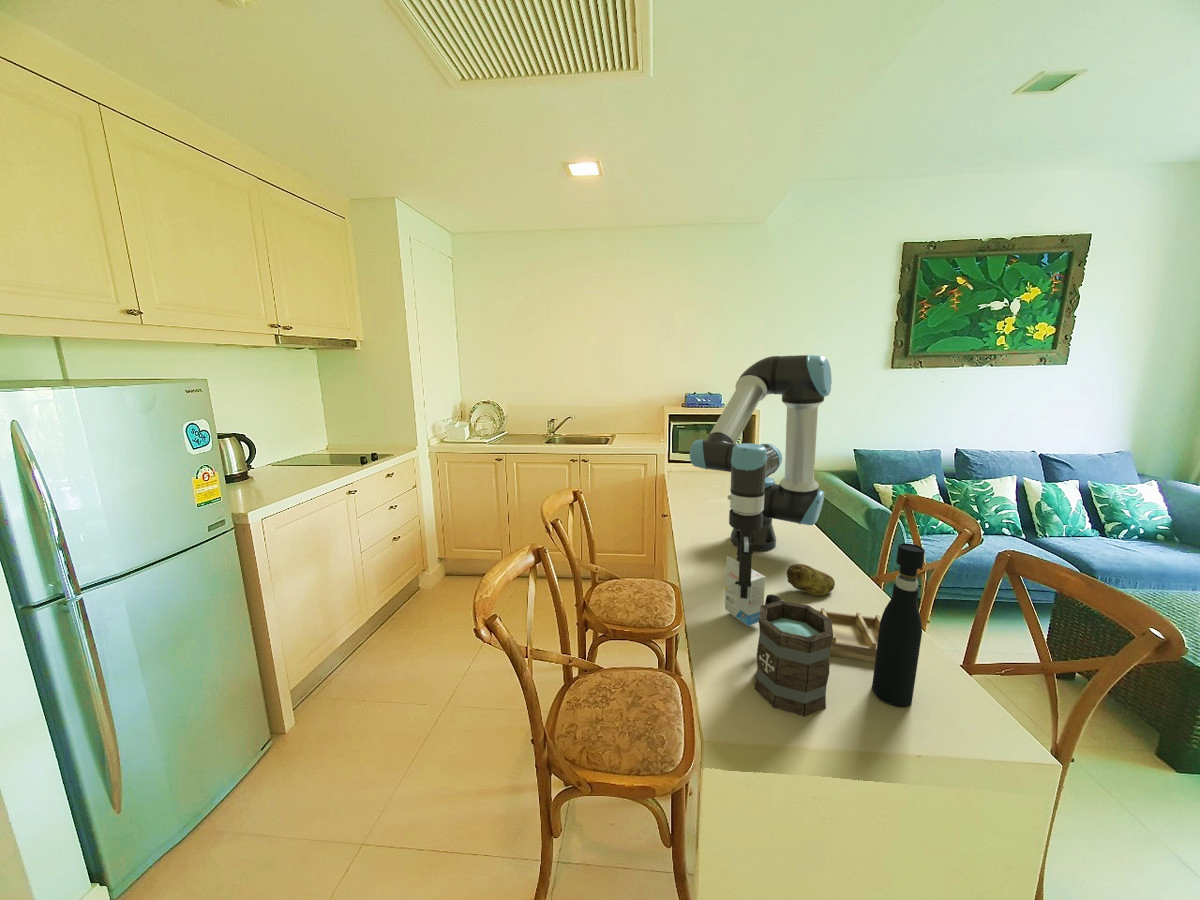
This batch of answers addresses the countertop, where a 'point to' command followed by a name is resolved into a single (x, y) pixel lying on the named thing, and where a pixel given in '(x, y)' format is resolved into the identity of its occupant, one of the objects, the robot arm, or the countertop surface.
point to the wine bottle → (900, 633)
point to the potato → (809, 579)
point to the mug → (793, 656)
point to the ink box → (755, 593)
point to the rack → (854, 635)
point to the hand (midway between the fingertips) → (741, 597)
